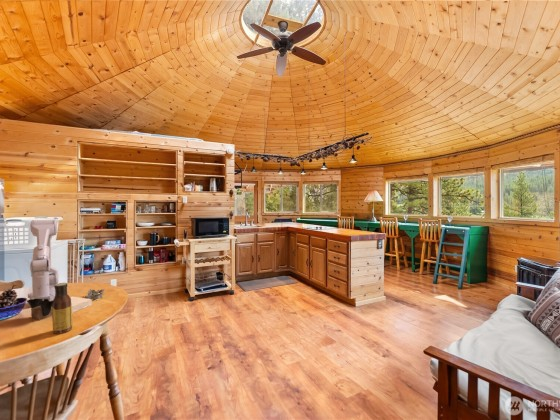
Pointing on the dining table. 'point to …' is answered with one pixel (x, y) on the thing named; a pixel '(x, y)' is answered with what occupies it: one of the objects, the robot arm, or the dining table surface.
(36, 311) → the walnut cube
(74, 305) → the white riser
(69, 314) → the sauce bottle
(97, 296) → the egg carton
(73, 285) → the dining table surface
